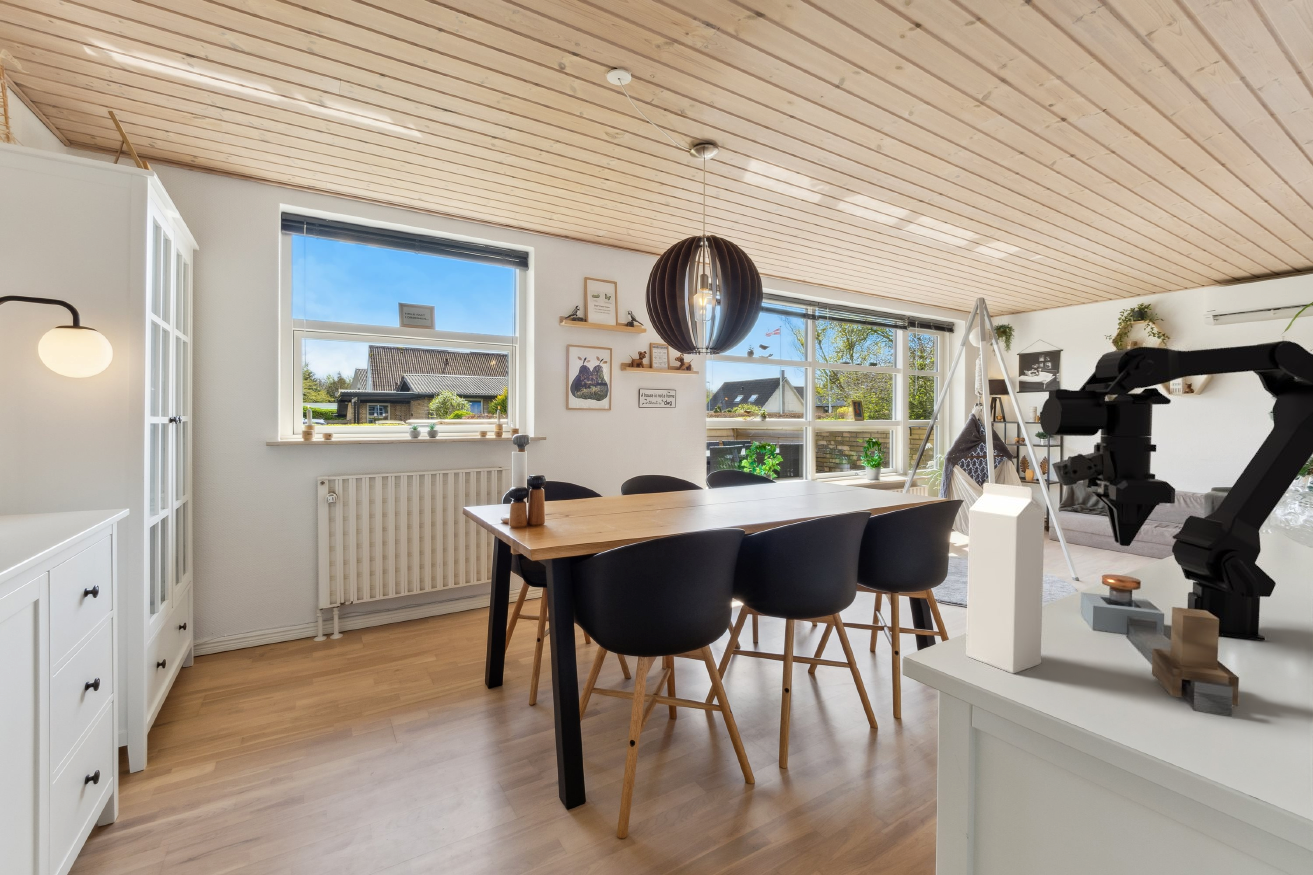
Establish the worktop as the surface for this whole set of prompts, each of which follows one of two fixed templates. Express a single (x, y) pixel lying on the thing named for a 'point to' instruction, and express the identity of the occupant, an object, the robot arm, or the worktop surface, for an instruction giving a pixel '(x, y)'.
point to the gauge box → (1116, 613)
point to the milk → (1005, 578)
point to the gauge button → (1120, 589)
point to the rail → (1193, 691)
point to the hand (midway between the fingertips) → (1122, 544)
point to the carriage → (1192, 653)
